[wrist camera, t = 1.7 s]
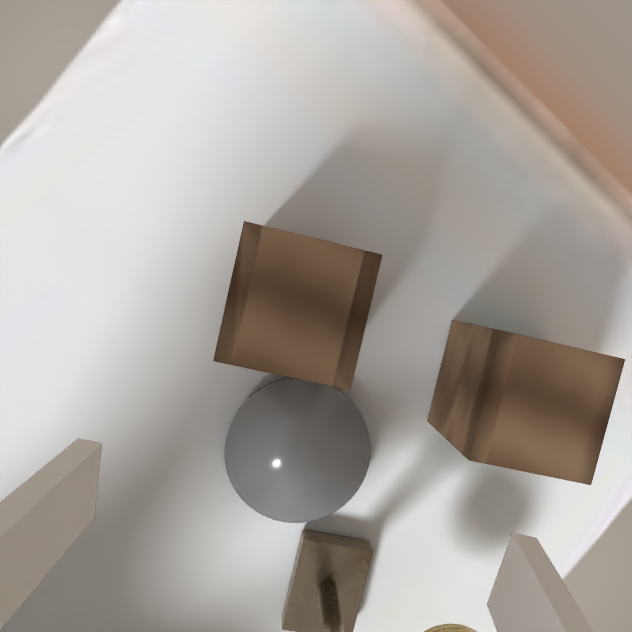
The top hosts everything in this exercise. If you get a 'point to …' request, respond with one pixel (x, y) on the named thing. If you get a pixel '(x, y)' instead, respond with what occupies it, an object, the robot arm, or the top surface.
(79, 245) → the top surface
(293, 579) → the balance
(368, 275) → the cover
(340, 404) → the dish
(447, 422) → the cover
